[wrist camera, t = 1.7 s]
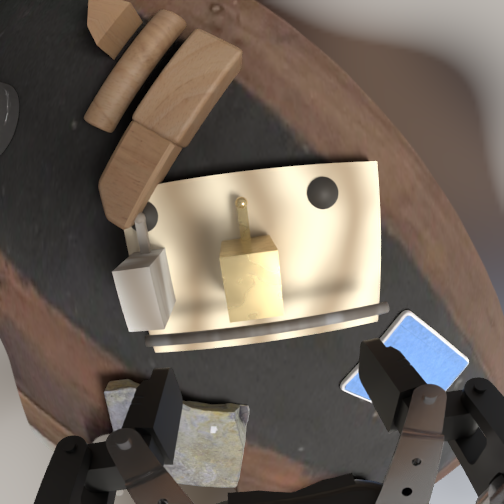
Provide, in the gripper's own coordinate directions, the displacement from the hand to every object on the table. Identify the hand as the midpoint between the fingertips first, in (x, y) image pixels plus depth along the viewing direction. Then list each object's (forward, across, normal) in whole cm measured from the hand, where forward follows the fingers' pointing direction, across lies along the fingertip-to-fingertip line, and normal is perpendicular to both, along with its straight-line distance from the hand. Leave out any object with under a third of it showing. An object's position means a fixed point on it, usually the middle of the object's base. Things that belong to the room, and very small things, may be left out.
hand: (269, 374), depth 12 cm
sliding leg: (+15, 0, -2) cm, 15 cm away
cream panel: (+16, -1, 0) cm, 17 cm away
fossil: (+17, +12, +23) cm, 31 cm away
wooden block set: (+17, +10, -17) cm, 26 cm away
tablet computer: (+17, -20, +19) cm, 32 cm away
